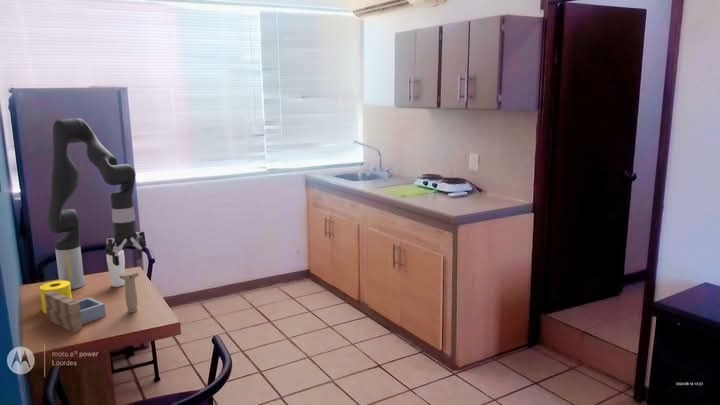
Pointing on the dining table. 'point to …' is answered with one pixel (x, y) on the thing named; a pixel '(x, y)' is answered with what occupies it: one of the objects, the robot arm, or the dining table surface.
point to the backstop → (63, 311)
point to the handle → (130, 289)
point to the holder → (91, 309)
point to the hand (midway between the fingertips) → (127, 262)
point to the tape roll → (56, 286)
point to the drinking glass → (116, 270)
